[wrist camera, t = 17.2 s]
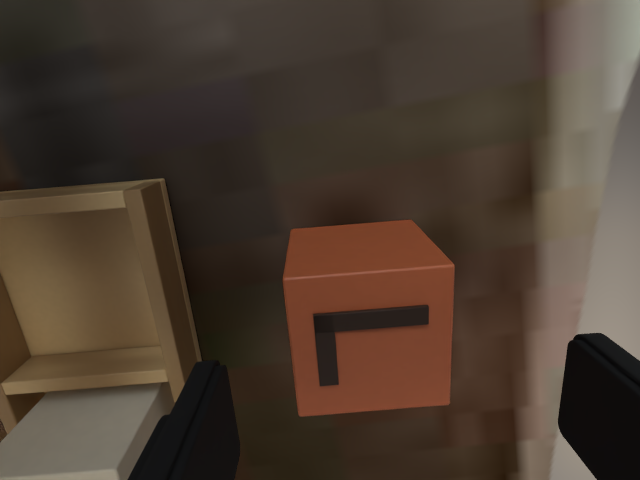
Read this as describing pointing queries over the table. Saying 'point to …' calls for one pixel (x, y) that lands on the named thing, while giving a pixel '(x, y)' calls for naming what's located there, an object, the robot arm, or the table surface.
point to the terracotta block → (368, 318)
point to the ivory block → (85, 433)
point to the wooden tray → (90, 293)
